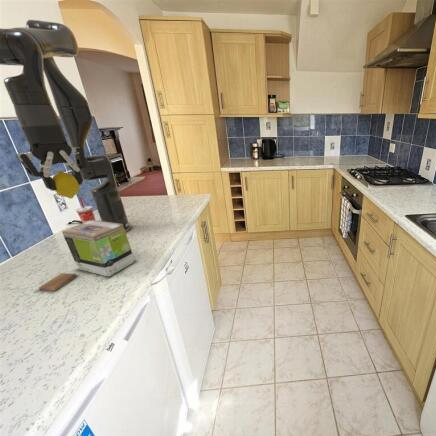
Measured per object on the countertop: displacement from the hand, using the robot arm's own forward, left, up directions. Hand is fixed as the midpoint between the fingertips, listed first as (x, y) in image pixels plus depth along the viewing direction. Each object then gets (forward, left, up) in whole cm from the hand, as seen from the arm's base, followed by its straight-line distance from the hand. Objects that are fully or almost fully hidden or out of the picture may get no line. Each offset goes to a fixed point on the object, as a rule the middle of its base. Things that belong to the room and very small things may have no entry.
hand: (66, 186), depth 69 cm
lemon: (0, 0, -4) cm, 4 cm away
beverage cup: (-44, +20, -29) cm, 57 cm away
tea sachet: (-5, -9, -29) cm, 31 cm away
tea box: (-1, +3, -29) cm, 29 cm away
